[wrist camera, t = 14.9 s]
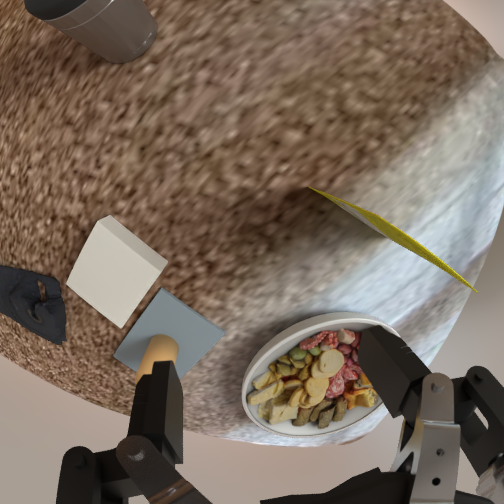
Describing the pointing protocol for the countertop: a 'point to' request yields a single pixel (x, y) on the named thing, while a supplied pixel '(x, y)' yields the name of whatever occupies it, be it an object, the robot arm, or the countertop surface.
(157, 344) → the tan rounded cylinder
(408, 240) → the food package
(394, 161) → the countertop surface
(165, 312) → the mat
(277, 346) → the bowl
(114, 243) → the white square block
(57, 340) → the black flat bumpy piece
